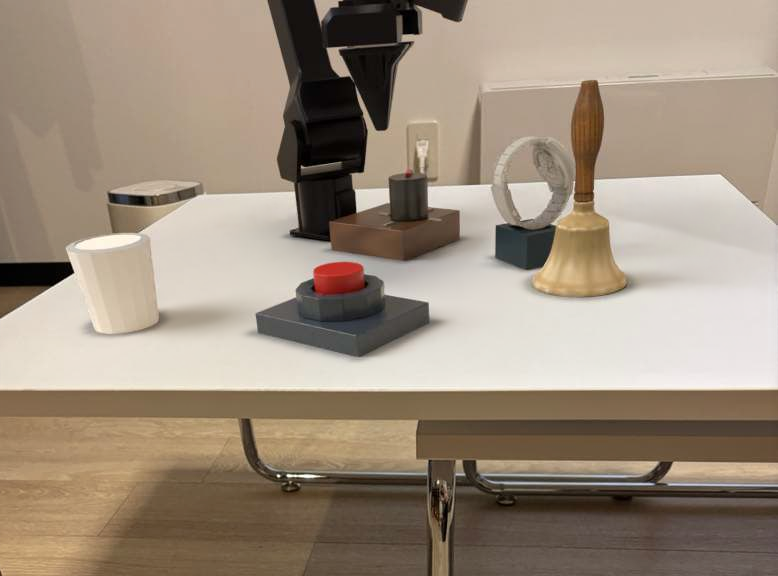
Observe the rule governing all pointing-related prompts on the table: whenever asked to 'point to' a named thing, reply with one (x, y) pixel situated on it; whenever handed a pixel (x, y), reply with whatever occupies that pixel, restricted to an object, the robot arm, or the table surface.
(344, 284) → the button
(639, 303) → the table surface
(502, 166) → the watch
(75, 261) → the white cup
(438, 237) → the dial panel
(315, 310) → the button box
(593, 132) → the hand bell
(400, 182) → the dial
